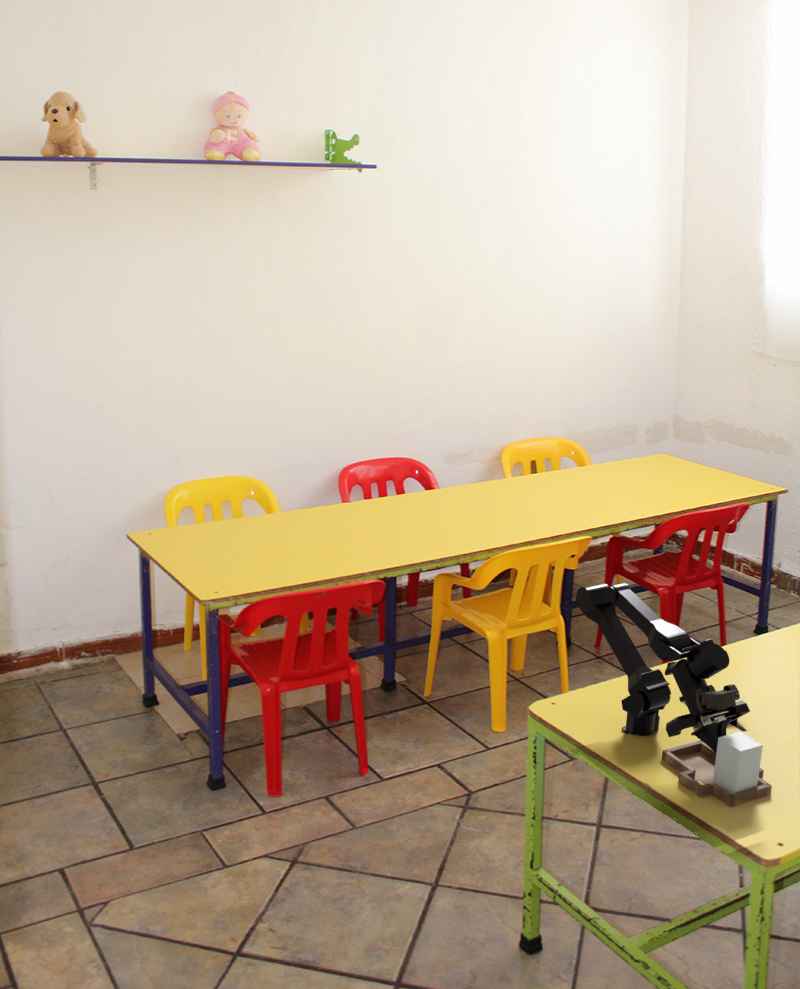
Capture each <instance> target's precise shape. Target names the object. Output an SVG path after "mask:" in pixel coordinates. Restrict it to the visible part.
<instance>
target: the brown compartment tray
mask: <svg viewBox="0 0 800 989" xmlns="http://www.w3.org/2000/svg"><path fill="white" fill-rule="evenodd" d="M661 752H662V754H661V760H662V761H663V762H665V763H666V764H668V765H670V766H671V767H672V768H674V769H675V770H677V771H678V772H679V773H678V782H677V783H680V785H682V786H684V787H685V788H686V789H687V790H689V791H691V792H692V793H693V794H695V795H696V796H698V797H699V798H700V799H702V798H705V797H710V796H713V797H715V798H716V799H718V800H719V801H721V802H722V803H724V804H725V805H726V806H728V807H729V808H732V807H733V808H734V807H735V806H739V805H742V804H745V803H749V802H751V801H755V800H758V799H761V798H763V797H764V798H765V797H767V796H770V795H771V794H772V788H773V786H772V784H770V783H769V782H768V781H765V780H764V779H763V777H764V770H765V769H763V768H761V767H760V769H759V776H758V783H757V787H754V788H751V789H747V790H744V791H741V792H738V793H734V794H730V793H729V792H727V791H726V790H724V789H723V788H721V787H720V786H719V785H717V784H716V783H714V784H713V777H714V769H715V761H716V753H715V752H714V751H713V750H712V749H711V748H710V747H709V746H708V745H706V744H705V743H704V742H703V741H701V740H700V739H699V740H696V741H693V742H689V743H686V744H682V745H677V746H674V747H671V748H666V749H663V750H662V751H661ZM700 782H701V783H703V784H701V783H700Z"/></svg>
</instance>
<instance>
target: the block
mask: <svg viewBox="0 0 800 989" xmlns="http://www.w3.org/2000/svg"><path fill="white" fill-rule="evenodd" d="M763 746H764V745H763V744H762V743H760V742H758V741H756V739H753V738H752V737H750V736H749V735H747V734H746V733H745V732H744V733H743V731H737V732H734V733H730V734H726V735H725V736H722V737H718V745H717V753H716V761H715V769H714V777H713V784H714V783H716V784H717V785H719V786H720V787H721V788H723V789H724V790H726V791H727V792H729V793H730V794H734V793H738V792H741V791H744V790H747V789H751V788H754V787H757V783H758V776H759V769H760V768H761V761H762V754H763Z"/></svg>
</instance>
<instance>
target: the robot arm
mask: <svg viewBox="0 0 800 989" xmlns="http://www.w3.org/2000/svg"><path fill="white" fill-rule="evenodd" d="M575 603H576V605H577V607H578V608H579V610H580V612H582V614H583V615H584V616H585V617H586V618H587V619H589V620H591V621H592V622H594V623H595V624H596V625H597V626H598V628H599V630H600V631H601V633H602V635H603V637H604V638H605V640H606V642H607V643H608V645H609V646H610V648H611V651H612V652H613V653H614V655H615V657H616V658H617V660H618V663H619V664H620V667H622V669H623V671H624V673H625V675H626V677H627V692H628V694H629V695H628V696H626V697H624V698H623V699H622V700H621V707H622V710H623V711H624V712H626V719H625V720H626V723H625V726H621V730H622V731H623V732H624V733H625V734H626V735H633V736H640V737H648V736H651V735H653V734H654V733H656V732H658V731H659V729H660V728H659V726H660V718H661V716H660V715H659V713H660V711H662V710H665V707H666V705H668V704H669V703H670V701H671V695H672V690H671V688H670V686H669V685H670V683H669V682H668V681H667V679H666V678H665V676H671V675H672V676H673V679H674V680H675V683H676V685H677V688H678V689H679V692H680V693H681V696H680V697H678V698H679V699H678V700H679V701H680V703H681V704H682V703H685V705H686V707H687V710H688V712H689V713H686V714H682V715H679V716H676V717H675V718H673V719H670V721H668V722H666V724H665V732H666V734H667V735H668V738H671V737H675V736H679V735H681V733H682V731H683V730H685V729H689V728H693V732H691V733H690V734H691V736H692V737H693V736H695V737H696V738H698V739H699V741H700V740H701V741H703V742H704V743H705V744H706V745H708V746H709V747H710V748H711V749H712V750H713V751H714V752H715V753H717V745H718V737H722V736H725V735H727V728H728V725H729V722H731V721H733V720H736V719H737V718H738V719H740V718H741V717H744V716H745V715H746V714H749V713H750V712H751V710H750V708H749V706H748V704H747V703H748V702H746V701H744V700H742V699H741V695H740V691H739V689H738V688H737V686H736V684H733V683H732V684H727V685H724V686H723V689H722V690H716V689H715V686H713V684H709V685H708V684H707V681H706V680H707V679H709V678H711V677H714V676H715V675H717V674H718V673H720V672H721V671H723V670H726V669H727V668H728V666H729V665H730V656H729V654H728V652H727V650H725V649H724V648H723V647H722V646H721V645H720V644H717V643H715V642H714V640H713V639H712V638H708V639H704V640H703V641H701V643H699V641H696V640H695V639H694V638H692V637H690V635H689V634H688V633H687V632H686V631H685V630H684V629H682V628H680V627H679V626H677V625H676V624H674V623H671V622H668V621H665V620H664V619H662V618H661V617H660V616H659V615H658V614H657V613H656V612H655V611H654V610H653V609H652V608H651V607H649V606H648V605H647V604H646V602H644V601H643V600H642V599H641V598H640V596H638V595H637V594H636V593H635V592H633V591H632V589H631V587H630V585H629V584H628V583H624V582H620V583H616V584H610V585H608V584H607V583H602V582H600V583H595V584H591V585H585V586H581V587H580V588H578V590H577V591H576V593H575ZM617 608H618V610H619V611H621V612H622V613H623V614H624V615H625V616H626V617H627V618H628V619H629V620H630V621H631V623H633V624H634V625H635V626H636V627H637V628H638V629H639V630H640V631H641V632H642V633H643V634H644V635H645V636H646V638H647V642H648V646H649V647H650V649H651V650H652V651H653V652H654V653H655V655H656V656H657V658H658V659H659V660H661V661H663V662H667V661H668V663H667V664H666V665H667V666H666V669H665V670H664V674H663V671H662V670H660V669H659V668H657V669H654V670H653V669H652V668H650V667H648V665H647V664H646V662H645V660H644V658H643V657H642V656H641V654H640V652H639V650H638V649H637V647H636V645H635V644H634V641H633V640H632V639H631V637H630V635H629V633H628V631H627V630H626V629H625V627H624V625H623V623H622V621H621V619H620V617H619V616H618V615H617ZM670 661H671V662H670ZM740 699H741V700H740Z"/></svg>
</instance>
